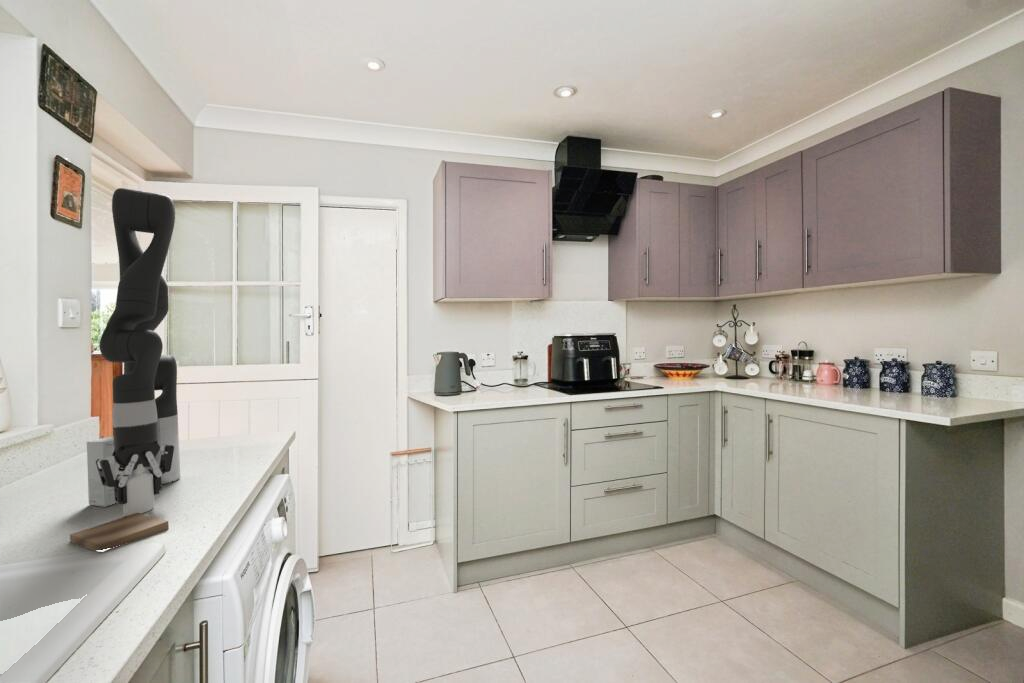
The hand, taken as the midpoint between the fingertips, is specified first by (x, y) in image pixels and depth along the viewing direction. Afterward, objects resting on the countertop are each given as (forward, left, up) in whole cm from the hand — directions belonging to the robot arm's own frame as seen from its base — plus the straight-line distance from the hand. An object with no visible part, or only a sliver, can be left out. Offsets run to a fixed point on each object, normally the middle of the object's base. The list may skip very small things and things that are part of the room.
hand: (139, 498), depth 101 cm
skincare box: (-14, +2, -3) cm, 14 cm away
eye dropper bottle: (0, 0, -3) cm, 3 cm away
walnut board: (+10, -8, -3) cm, 13 cm away
